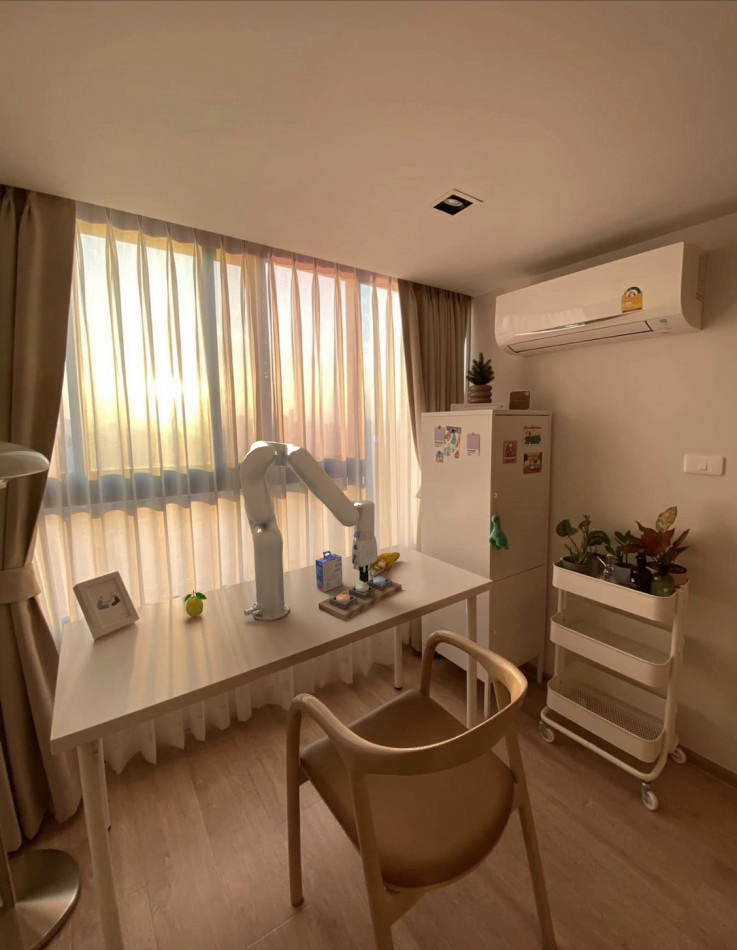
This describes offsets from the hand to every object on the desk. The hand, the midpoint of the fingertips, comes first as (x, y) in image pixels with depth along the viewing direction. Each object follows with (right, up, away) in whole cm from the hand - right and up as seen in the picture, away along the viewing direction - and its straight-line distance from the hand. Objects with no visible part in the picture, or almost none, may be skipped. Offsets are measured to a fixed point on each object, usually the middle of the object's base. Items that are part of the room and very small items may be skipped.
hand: (363, 580), depth 154 cm
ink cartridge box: (-14, -5, +10) cm, 18 cm away
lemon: (-58, -9, -13) cm, 60 cm away
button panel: (-1, -7, 0) cm, 7 cm away
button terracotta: (-7, -6, -8) cm, 12 cm away
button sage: (-1, -4, -1) cm, 4 cm away
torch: (+9, -3, +28) cm, 29 cm away
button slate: (+6, -3, +7) cm, 10 cm away
